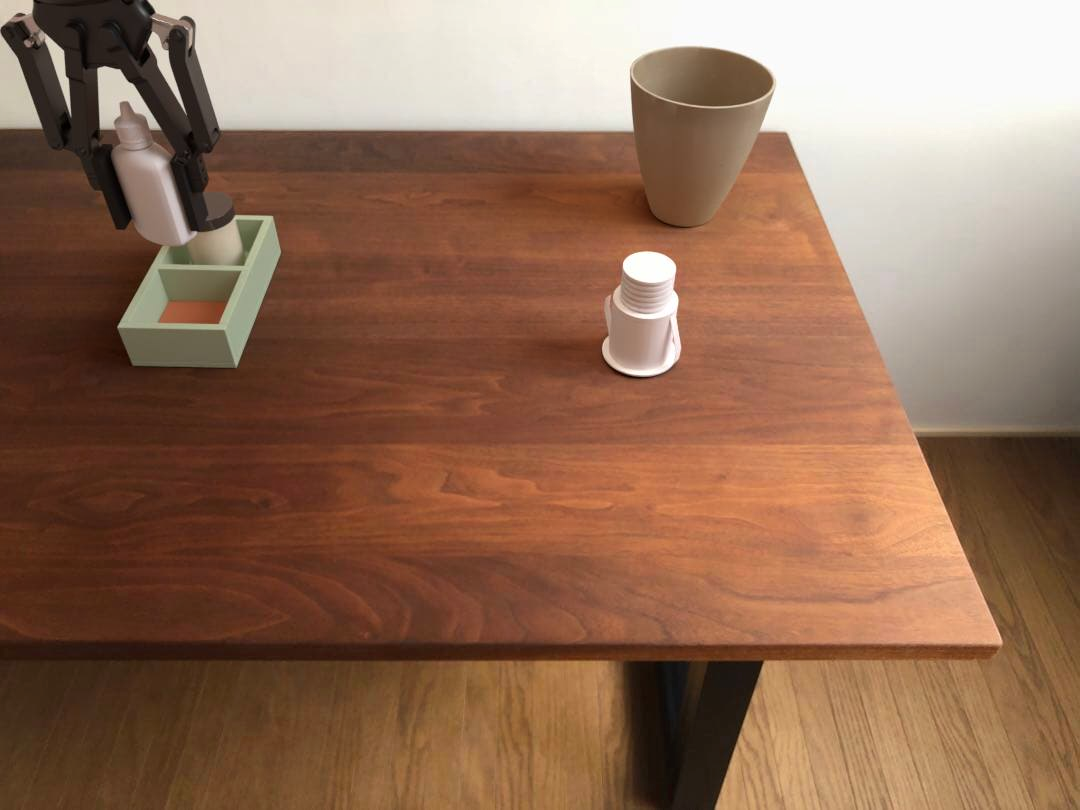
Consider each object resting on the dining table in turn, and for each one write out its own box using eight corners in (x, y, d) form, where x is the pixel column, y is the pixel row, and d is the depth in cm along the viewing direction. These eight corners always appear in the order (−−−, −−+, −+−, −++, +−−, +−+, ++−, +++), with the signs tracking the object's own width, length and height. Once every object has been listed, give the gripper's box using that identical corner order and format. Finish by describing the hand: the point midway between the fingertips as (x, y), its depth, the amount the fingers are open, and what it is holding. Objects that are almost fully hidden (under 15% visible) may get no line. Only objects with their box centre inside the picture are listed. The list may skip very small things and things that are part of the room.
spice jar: (206, 296, 89) (184, 227, 83) (188, 269, 92) (166, 201, 86) (258, 278, 91) (240, 210, 85) (239, 252, 94) (221, 185, 89)
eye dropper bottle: (182, 211, 80) (142, 82, 72) (202, 242, 77) (162, 110, 69) (133, 225, 79) (86, 95, 70) (151, 257, 75) (104, 124, 67)
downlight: (583, 355, 84) (588, 268, 77) (624, 318, 88) (632, 232, 81) (655, 392, 81) (667, 304, 74) (694, 351, 85) (709, 265, 78)
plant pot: (757, 248, 97) (788, 109, 86) (621, 244, 97) (633, 105, 86) (739, 177, 108) (764, 45, 97) (615, 174, 108) (626, 42, 97)
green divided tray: (236, 368, 82) (224, 329, 79) (132, 366, 82) (116, 327, 79) (281, 252, 95) (273, 215, 92) (191, 250, 95) (180, 213, 92)
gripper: (218, -86, 63) (281, 200, 80) (-44, -91, 63) (72, 196, 80) (186, -50, 58) (260, 249, 74) (-100, -56, 58) (36, 244, 74)
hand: (162, 221), depth 77 cm, fingers closed on eye dropper bottle, 6 cm apart
